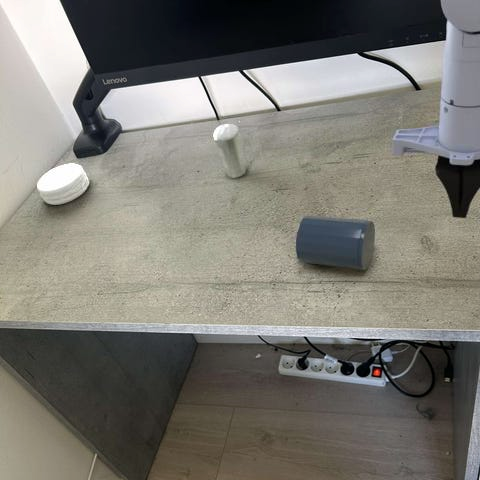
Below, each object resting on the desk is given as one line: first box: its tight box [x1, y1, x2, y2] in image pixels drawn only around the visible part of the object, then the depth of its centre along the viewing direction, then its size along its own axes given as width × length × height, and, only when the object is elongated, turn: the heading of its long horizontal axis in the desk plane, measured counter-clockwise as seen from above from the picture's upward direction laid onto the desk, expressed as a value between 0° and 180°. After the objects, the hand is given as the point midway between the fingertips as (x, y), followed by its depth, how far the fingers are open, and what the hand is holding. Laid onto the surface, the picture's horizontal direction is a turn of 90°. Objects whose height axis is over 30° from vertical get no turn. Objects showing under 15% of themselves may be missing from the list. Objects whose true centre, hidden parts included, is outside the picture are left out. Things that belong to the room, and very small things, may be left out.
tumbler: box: [295, 215, 376, 271], centre depth 66 cm, size 6×6×9 cm
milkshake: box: [213, 120, 246, 179], centre depth 86 cm, size 4×5×10 cm
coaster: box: [36, 163, 90, 206], centre depth 100 cm, size 10×10×4 cm
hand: (460, 212), depth 55 cm, fingers closed
